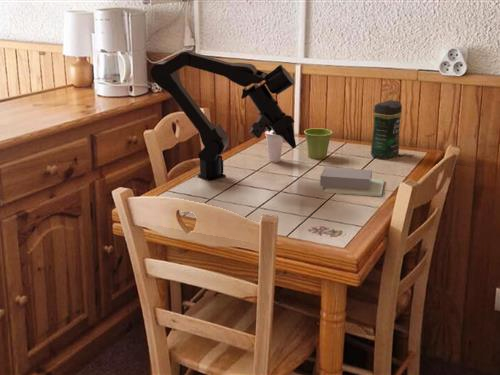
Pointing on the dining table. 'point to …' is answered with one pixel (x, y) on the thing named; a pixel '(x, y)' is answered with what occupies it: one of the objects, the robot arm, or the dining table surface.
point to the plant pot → (317, 142)
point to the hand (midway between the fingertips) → (294, 147)
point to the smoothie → (274, 146)
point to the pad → (374, 190)
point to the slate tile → (346, 178)
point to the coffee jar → (386, 129)
